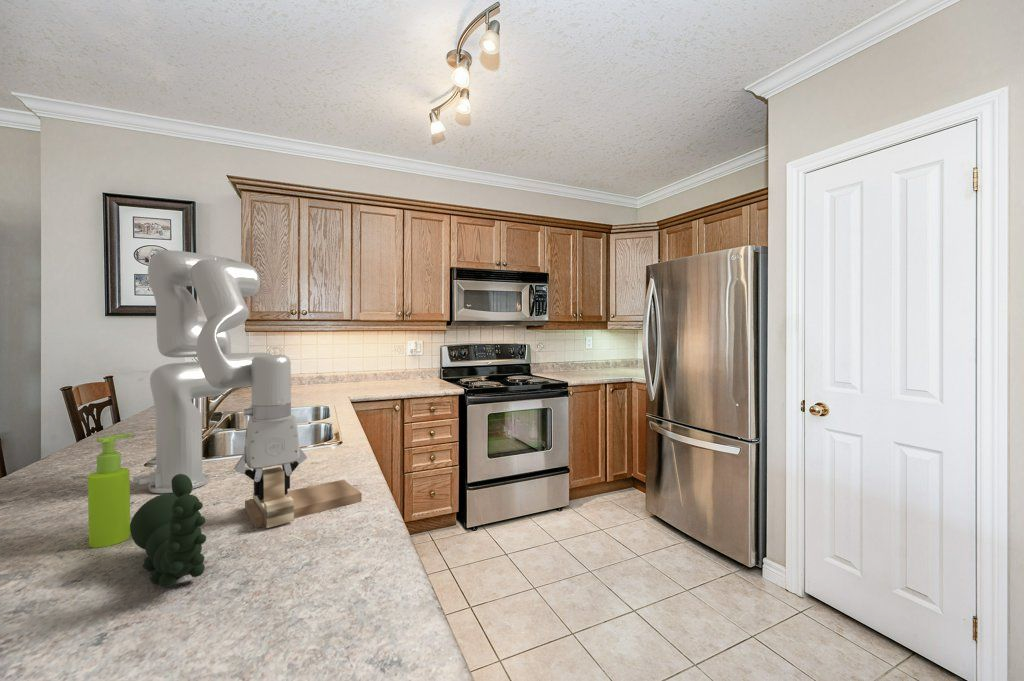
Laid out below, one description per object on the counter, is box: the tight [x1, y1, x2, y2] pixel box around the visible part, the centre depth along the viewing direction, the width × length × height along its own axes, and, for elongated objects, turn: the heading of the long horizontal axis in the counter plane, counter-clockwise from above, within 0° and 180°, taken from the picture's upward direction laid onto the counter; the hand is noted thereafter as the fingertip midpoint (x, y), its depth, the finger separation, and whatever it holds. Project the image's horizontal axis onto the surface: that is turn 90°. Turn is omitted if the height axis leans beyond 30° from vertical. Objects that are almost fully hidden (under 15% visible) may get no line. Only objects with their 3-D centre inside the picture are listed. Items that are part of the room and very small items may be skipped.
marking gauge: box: [252, 466, 295, 529], centre depth 96 cm, size 5×14×9 cm, turn 40°
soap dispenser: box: [87, 433, 136, 549], centre depth 85 cm, size 6×7×20 cm
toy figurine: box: [130, 474, 207, 588], centre depth 75 cm, size 9×19×25 cm
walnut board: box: [244, 479, 363, 529], centre depth 102 cm, size 22×12×2 cm, turn 130°
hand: (272, 494), depth 96 cm, fingers closed on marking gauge, 4 cm apart
